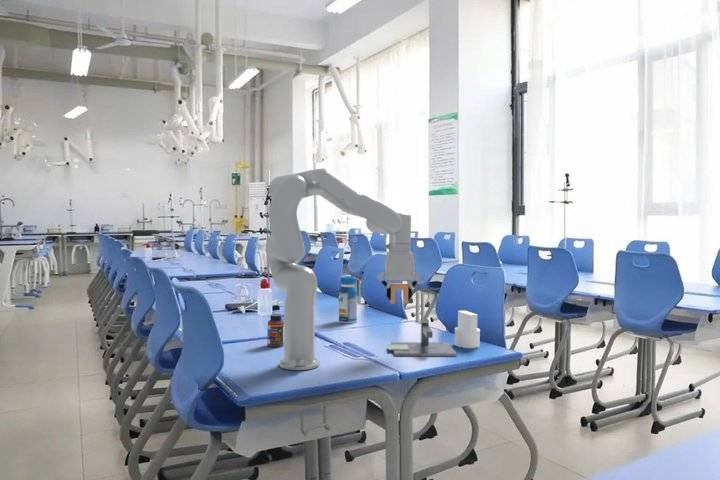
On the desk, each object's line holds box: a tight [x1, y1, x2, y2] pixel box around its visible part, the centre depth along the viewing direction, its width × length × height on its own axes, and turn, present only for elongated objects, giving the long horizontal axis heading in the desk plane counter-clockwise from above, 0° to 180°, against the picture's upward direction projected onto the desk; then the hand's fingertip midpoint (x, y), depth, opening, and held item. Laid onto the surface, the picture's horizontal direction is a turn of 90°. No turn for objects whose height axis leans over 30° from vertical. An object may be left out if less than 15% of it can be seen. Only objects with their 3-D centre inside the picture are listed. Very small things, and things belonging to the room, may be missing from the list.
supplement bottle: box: [266, 313, 284, 348], centre depth 200 cm, size 6×6×11 cm
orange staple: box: [389, 282, 409, 305], centre depth 193 cm, size 4×6×7 cm, turn 91°
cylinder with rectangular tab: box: [454, 310, 481, 349], centre depth 202 cm, size 9×9×12 cm
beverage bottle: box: [337, 275, 358, 324], centre depth 244 cm, size 8×8×20 cm
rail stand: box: [387, 321, 457, 357], centre depth 194 cm, size 16×22×9 cm
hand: (399, 298), depth 193 cm, fingers closed on orange staple, 6 cm apart
